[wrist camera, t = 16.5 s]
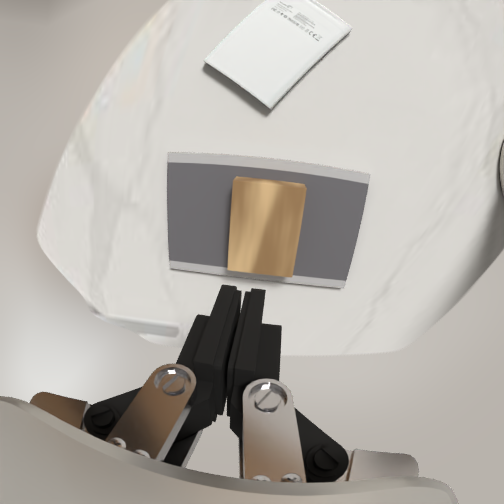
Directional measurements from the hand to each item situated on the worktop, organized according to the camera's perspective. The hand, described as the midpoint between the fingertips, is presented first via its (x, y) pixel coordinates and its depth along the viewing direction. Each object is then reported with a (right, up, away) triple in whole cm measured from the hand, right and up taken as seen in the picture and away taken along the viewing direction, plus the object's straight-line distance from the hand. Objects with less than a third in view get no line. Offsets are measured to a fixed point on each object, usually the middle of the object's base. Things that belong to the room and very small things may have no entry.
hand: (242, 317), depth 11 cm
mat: (+1, +6, +17) cm, 18 cm away
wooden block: (-2, +5, +16) cm, 17 cm away
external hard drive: (+3, +23, +10) cm, 25 cm away
